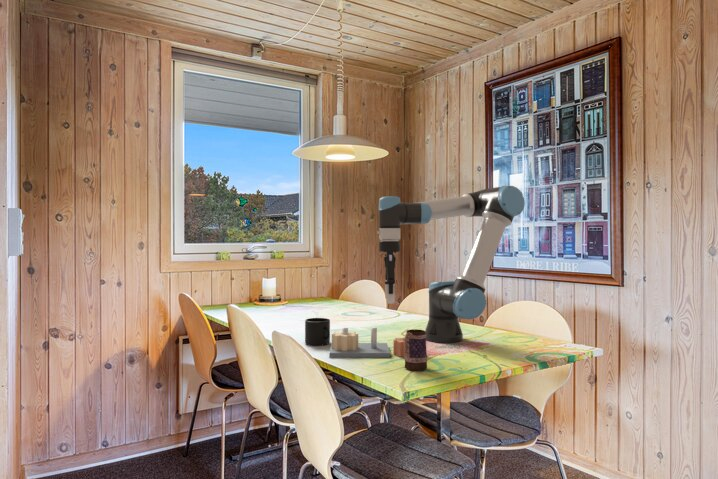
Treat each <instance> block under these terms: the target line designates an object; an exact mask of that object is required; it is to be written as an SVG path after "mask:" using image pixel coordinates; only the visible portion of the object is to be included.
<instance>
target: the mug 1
mask: <svg viewBox="0 0 718 479" xmlns="http://www.w3.org/2000/svg"><path fill="white" fill-rule="evenodd" d="M304 323H305V324H304V332H305V333H304V343H305V344H306V345H307V346H312V347H321V346H327V345H329V344H331V342H330V341H331V320H330V319H329V318H325V317H310V318H306V319H305V320H304Z"/></svg>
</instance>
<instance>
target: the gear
mask: <svg viewBox="0 0 718 479" xmlns="http://www.w3.org/2000/svg"><path fill="white" fill-rule="evenodd" d="M392 344H393V345H392V347H393V352H392V353H393V356H396V357H399V358H402V357H404V358H405V336H404V337H395V338H394V339H393V343H392Z"/></svg>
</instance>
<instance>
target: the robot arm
mask: <svg viewBox="0 0 718 479" xmlns="http://www.w3.org/2000/svg"><path fill="white" fill-rule="evenodd" d="M525 204H526V202H525V197H524V194H523V192H522V191H521V189H519V188H518V187H516V186H514V185H502V186H497V187H496V186H495V187H489V188H488V187H487V188H483V189H481V190H477V191H473V192H469V193H464V194H463V195H462V196H458V197H457V196H456V197H449V198H448V197H447V198H443V199H436V200H435V199H433V200H427V201H426V200H425V201H420V202H419V201H418V202H401V198H400V196H392V195H391V196H381V197H380V198H379V201H378V229H379V230H377V232H376V233H377V234H378V238H379V239H378V240H379V242H378V252H380V253H385V256H384V257H383V262H384V268H385V269H384V271H385V274H384V279H385V280H384V287H385V290H384V294H385V299H386V304H387V305H389V304H392V305H393V304H396V294H395V293H396V292H395V291H396V284H395V283H396V279H395V273H396V272H395V268H396V262H397V260H396V256H395V255H394V253H399V252H400V251H401V241H400V240H401V225H425V224H429V223H430V221H434V220H441V219H448V218H456V217H463V216H465V217H466V218H471V217H472V218H473V217H482V218H483V221H482V224H481V227H480V230H479V231H478V234H477V237H476V238H475V242H474V244H473V246H472V248H471V252H470V254H469V256H468V257H467V258H468V259H467V262H466V264H465V266H464V269H463V271H462V274H461V275H460V276H457V277H456V278H455V280H451V281H450V280H449V281H434V282H431V283H429V287H428V322H427V324H426V326H425V330H424V331H425V332H426V341H430V342H433V343H444V344H445V343H447V344H449V343H451V344H452V343H459V342H462V341H463V339H464V334H463V330H462V327H461V324H460V321H459V319H462V320H473V319H474V320H475V319H477V318H478V317H479V316H481V315H482V314H483V313H484V311H485V309H486V306H487V300H486V295H485V293H486V287H485V284H484V283H485V281H486V278H487V275H488V273H489V270H490V268H491V265H492V262H493V260H494V257H495V255H496V253H497V250H498V248H499V245H500V242H501V240H502V237H503V234H504V232H505V230H506V228H507V227H509V226H511V225H512V223H513V220H514V218H515V217H516V216H519V215H520V214H522V212H524V209H525Z"/></svg>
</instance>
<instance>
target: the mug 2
mask: <svg viewBox="0 0 718 479" xmlns="http://www.w3.org/2000/svg"><path fill="white" fill-rule="evenodd" d="M404 337H405V357H404V368H405V369H406V370H408V371H413V372H422V371H423V372H424V371H425V370H427V369H428V355H427V340H426V332H425V330H424V329H415V328H414V329H407V330H406V332H405V335H404Z"/></svg>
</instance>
